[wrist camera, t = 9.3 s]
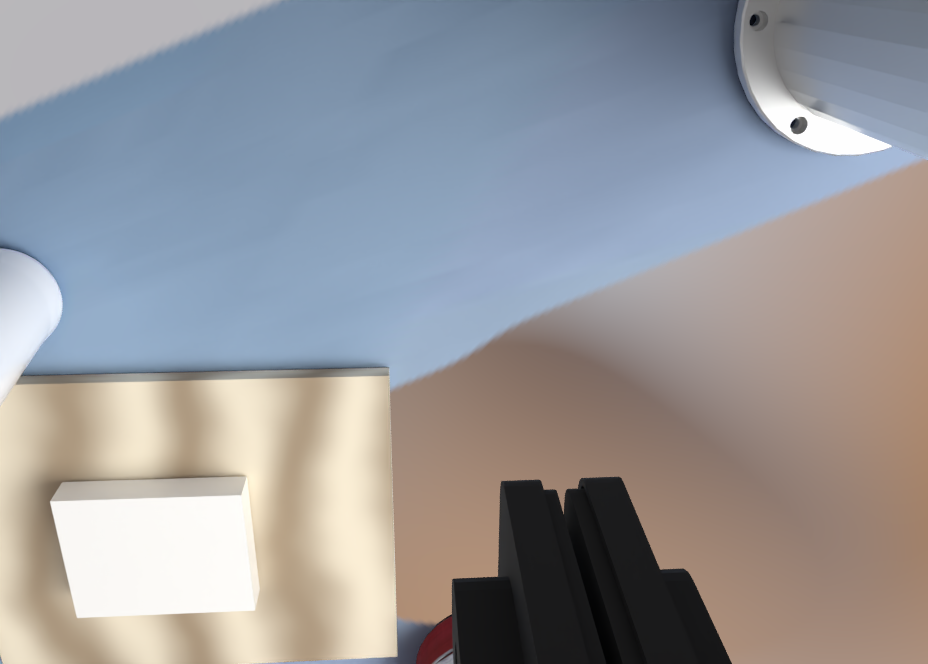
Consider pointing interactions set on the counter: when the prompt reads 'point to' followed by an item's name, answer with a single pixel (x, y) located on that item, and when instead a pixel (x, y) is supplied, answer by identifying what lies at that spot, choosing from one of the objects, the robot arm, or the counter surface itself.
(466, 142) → the counter surface
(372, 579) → the board
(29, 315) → the drinking glass
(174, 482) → the block
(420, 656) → the canned food
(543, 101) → the counter surface
